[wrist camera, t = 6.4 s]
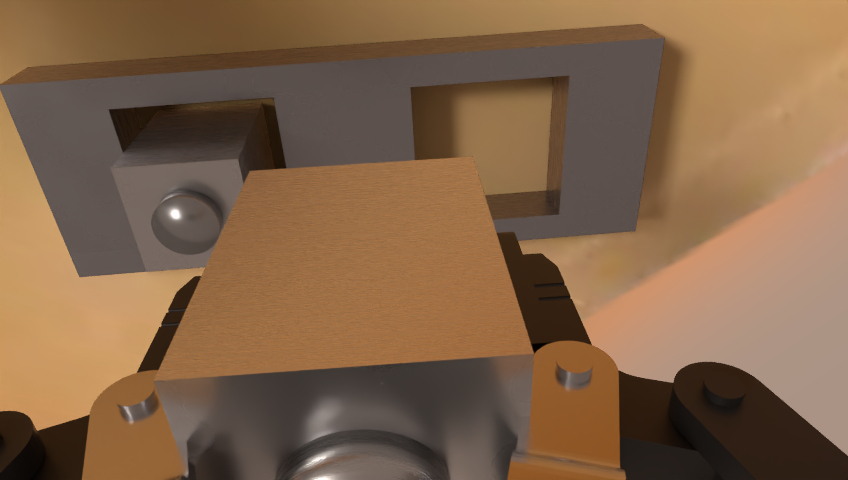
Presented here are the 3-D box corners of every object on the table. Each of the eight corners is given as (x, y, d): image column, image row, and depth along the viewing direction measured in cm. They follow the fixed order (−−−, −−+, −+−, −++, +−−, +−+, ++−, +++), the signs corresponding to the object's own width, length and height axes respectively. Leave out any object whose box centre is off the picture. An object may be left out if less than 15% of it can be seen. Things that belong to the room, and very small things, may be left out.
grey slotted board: (27, 67, 26) (-2, 85, 24) (642, 24, 27) (664, 37, 25) (98, 249, 30) (79, 277, 28) (617, 206, 31) (635, 230, 29)
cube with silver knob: (249, 170, 12) (132, 426, 7) (472, 156, 13) (547, 396, 7) (285, 343, 15) (221, 645, 9) (473, 330, 15) (529, 620, 9)
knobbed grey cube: (159, 109, 27) (103, 176, 21) (262, 102, 27) (234, 167, 22) (184, 200, 30) (141, 282, 24) (279, 192, 30) (258, 272, 24)
